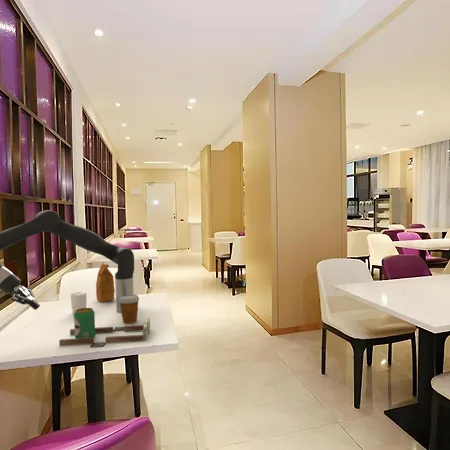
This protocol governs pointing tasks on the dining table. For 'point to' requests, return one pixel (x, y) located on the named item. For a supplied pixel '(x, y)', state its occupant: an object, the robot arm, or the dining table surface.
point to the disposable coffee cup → (129, 308)
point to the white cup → (78, 301)
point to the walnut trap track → (111, 338)
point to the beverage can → (84, 323)
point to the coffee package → (104, 284)
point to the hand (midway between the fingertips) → (37, 307)
